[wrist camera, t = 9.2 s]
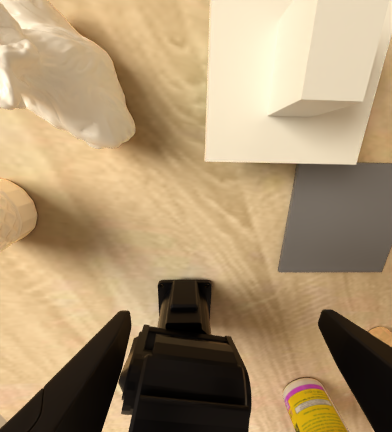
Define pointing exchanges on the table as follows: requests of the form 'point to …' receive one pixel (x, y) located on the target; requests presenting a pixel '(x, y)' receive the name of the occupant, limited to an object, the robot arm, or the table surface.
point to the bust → (60, 75)
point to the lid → (293, 78)
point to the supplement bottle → (312, 407)
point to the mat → (339, 218)
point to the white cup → (15, 213)
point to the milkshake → (382, 334)
